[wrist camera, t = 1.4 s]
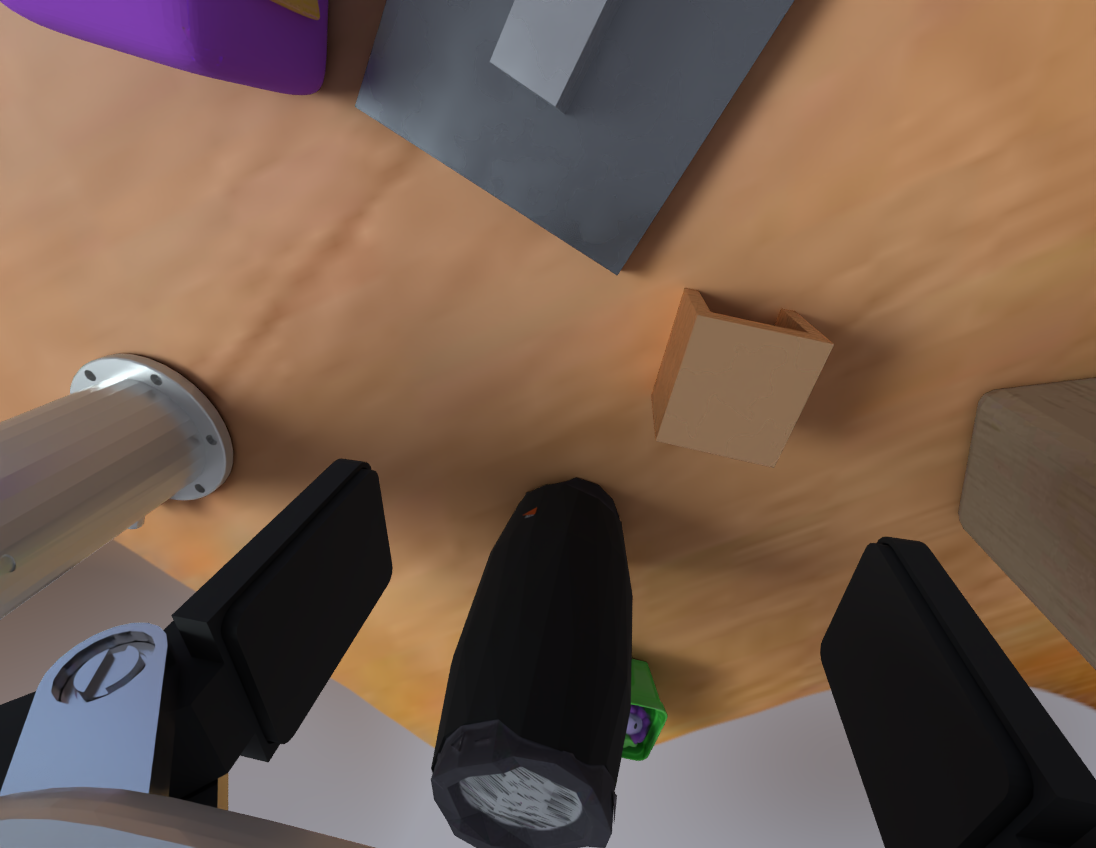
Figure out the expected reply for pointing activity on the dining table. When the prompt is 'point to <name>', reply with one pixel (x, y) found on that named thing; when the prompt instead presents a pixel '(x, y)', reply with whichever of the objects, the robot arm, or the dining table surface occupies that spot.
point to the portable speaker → (541, 680)
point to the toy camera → (203, 35)
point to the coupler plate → (600, 128)
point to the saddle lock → (735, 381)
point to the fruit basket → (643, 714)
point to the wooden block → (1039, 498)
